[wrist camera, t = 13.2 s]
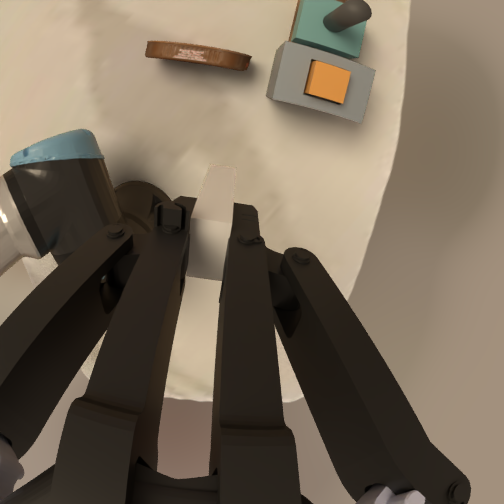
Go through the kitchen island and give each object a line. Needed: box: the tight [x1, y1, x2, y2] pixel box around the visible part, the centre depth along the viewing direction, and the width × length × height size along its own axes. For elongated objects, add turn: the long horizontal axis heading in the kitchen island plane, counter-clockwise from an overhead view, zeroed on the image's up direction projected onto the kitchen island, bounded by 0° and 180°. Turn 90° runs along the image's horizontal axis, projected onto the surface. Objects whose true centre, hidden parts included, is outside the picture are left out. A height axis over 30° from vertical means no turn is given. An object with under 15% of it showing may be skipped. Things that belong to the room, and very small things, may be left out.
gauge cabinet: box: [266, 41, 376, 124], centre depth 32 cm, size 12×8×10 cm, turn 79°
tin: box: [145, 41, 252, 71], centre depth 30 cm, size 15×3×8 cm, turn 75°
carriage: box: [291, 0, 372, 59], centre depth 23 cm, size 8×9×13 cm
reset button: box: [303, 61, 351, 104], centre depth 28 cm, size 4×4×3 cm
